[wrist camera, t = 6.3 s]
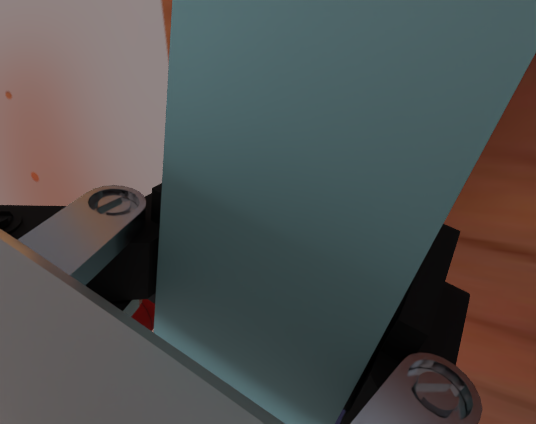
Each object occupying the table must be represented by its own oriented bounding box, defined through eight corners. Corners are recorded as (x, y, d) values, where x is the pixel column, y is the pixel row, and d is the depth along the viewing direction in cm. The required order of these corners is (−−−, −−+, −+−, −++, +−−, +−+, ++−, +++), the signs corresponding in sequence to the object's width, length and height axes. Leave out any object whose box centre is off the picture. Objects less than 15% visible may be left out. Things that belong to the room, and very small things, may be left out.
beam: (358, -168, 8) (191, -325, 4) (616, -134, 6) (742, -331, 3) (235, 351, 17) (146, 457, 13) (331, 413, 15) (264, 554, 11)
